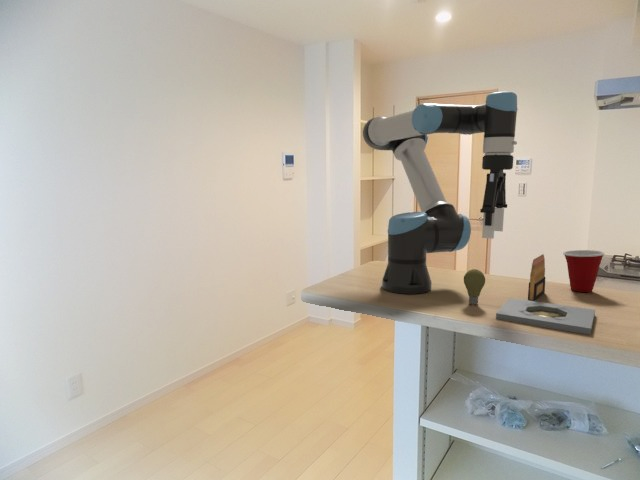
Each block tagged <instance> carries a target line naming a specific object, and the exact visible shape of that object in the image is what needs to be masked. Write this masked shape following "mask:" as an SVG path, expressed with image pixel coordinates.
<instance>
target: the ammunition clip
mask: <svg viewBox="0 0 640 480" xmlns="http://www.w3.org/2000/svg"><path fill="white" fill-rule="evenodd" d="M545 260H546V259H545V255H544V253H542V254H540V255H539V256H537V257H535V258H534V259H533V260H532V263H531V269H530V276H529V282H528V289H527V290H528V293H527V300H529V301H536V302H537V300H538V299H539V298H541V297H542V296H543V295H545V292H546V265H545V264H546V261H545Z"/></svg>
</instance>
